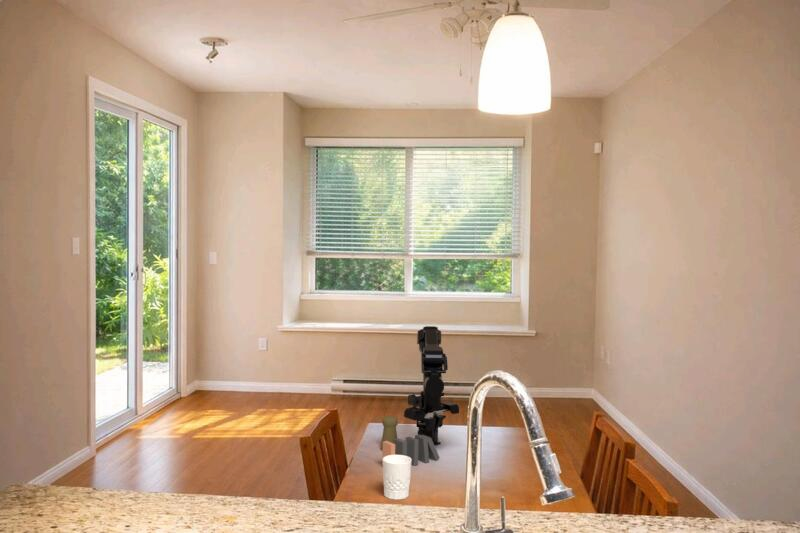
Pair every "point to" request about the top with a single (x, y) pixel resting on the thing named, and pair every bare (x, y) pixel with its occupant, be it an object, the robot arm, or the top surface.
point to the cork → (389, 429)
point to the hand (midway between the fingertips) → (431, 437)
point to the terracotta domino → (387, 449)
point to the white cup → (396, 476)
